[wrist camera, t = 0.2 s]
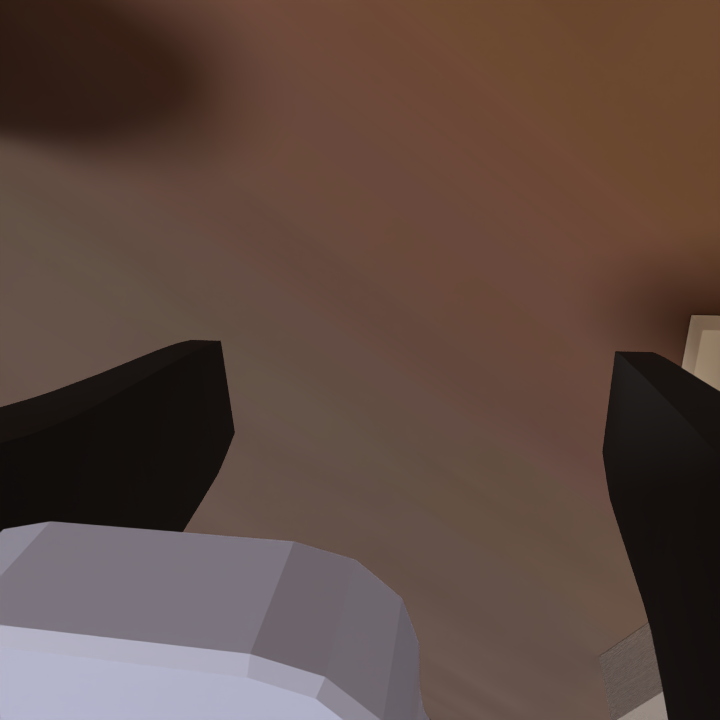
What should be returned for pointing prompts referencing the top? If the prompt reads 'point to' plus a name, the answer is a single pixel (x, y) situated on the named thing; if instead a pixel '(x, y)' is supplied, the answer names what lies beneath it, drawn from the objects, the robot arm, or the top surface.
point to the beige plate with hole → (703, 349)
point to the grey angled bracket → (634, 679)
